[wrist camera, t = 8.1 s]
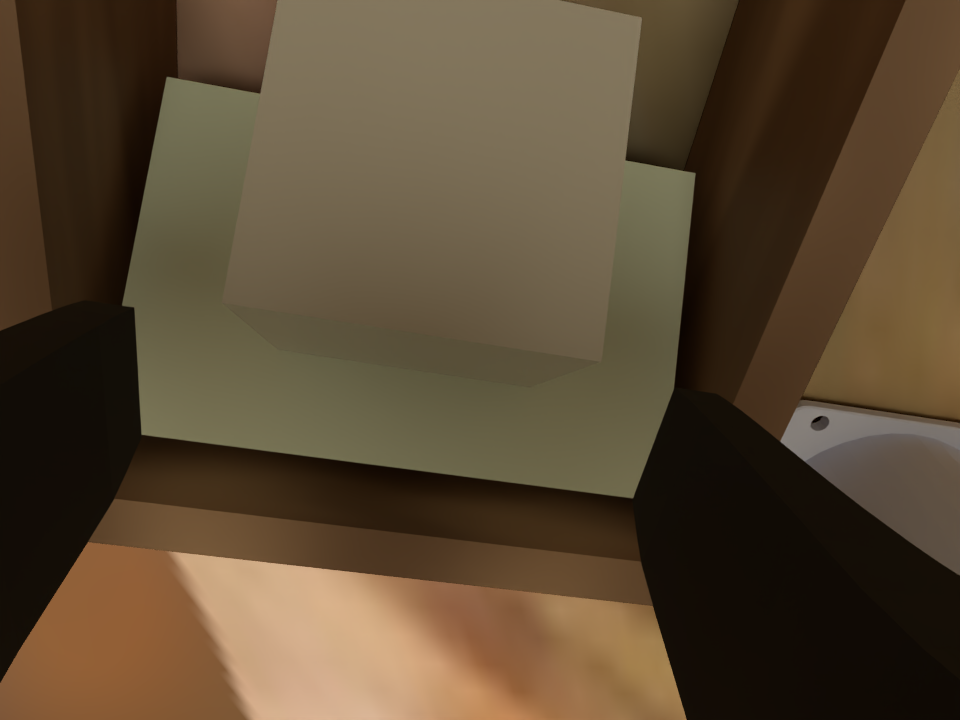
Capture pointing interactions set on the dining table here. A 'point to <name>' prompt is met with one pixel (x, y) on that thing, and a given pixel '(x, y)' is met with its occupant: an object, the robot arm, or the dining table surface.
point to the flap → (375, 388)
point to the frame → (450, 498)
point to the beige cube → (437, 184)
